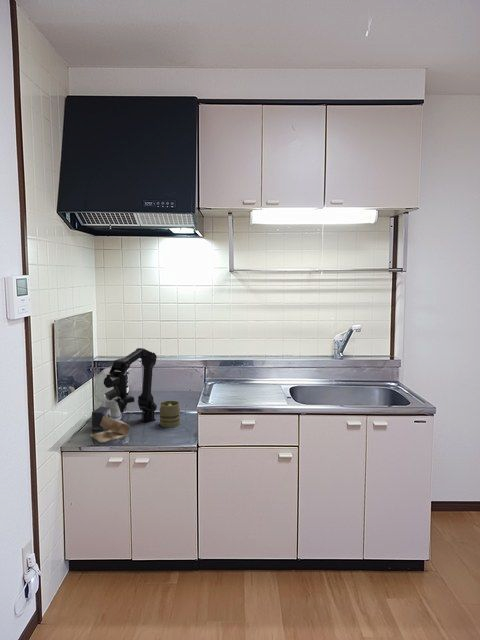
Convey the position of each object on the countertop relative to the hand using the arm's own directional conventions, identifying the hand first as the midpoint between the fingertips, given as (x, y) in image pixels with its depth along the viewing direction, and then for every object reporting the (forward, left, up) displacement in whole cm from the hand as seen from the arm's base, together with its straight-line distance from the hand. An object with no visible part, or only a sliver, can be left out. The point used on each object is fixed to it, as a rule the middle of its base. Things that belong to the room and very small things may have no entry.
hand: (121, 412), depth 251 cm
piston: (-27, +4, -11) cm, 30 cm away
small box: (+5, -15, -11) cm, 20 cm away
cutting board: (+8, 0, -11) cm, 14 cm away
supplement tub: (-6, -25, -11) cm, 28 cm away
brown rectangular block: (-1, 0, -9) cm, 9 cm away
